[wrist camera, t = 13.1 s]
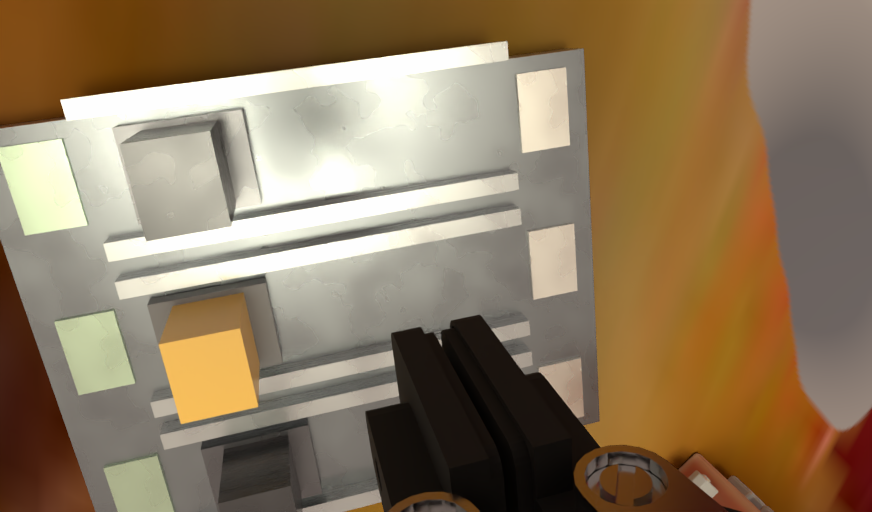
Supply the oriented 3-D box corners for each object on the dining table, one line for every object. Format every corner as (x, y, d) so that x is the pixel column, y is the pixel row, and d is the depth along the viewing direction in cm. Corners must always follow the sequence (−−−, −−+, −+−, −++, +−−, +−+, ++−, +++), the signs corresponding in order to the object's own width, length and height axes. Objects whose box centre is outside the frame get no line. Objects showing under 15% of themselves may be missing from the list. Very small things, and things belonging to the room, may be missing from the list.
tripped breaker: (150, 298, 29) (128, 344, 25) (265, 276, 30) (265, 317, 26) (172, 378, 30) (156, 435, 26) (282, 355, 31) (284, 406, 27)
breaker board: (-23, 108, 27) (-112, 127, 21) (564, 31, 32) (638, 27, 26) (120, 530, 34) (86, 640, 28) (584, 414, 39) (646, 487, 33)
